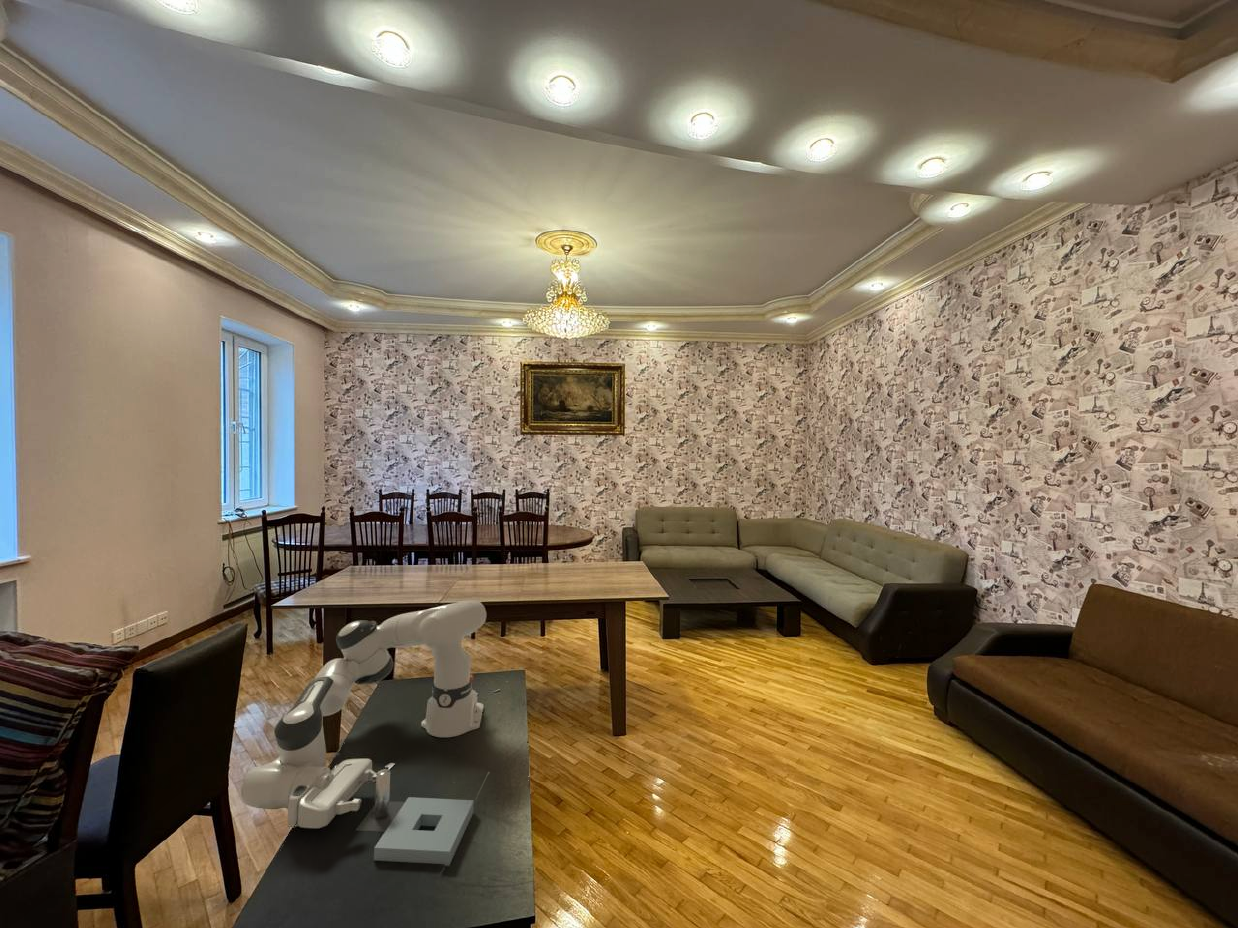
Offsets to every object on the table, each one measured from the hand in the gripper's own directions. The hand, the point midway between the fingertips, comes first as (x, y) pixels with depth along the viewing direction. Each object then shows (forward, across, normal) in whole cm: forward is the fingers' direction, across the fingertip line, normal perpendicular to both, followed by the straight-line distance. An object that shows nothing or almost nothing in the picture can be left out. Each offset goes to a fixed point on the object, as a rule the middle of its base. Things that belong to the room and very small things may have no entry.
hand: (370, 791), depth 116 cm
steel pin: (+3, 0, -6) cm, 6 cm away
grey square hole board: (+16, +5, -6) cm, 17 cm away
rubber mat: (+3, 0, -6) cm, 7 cm away
